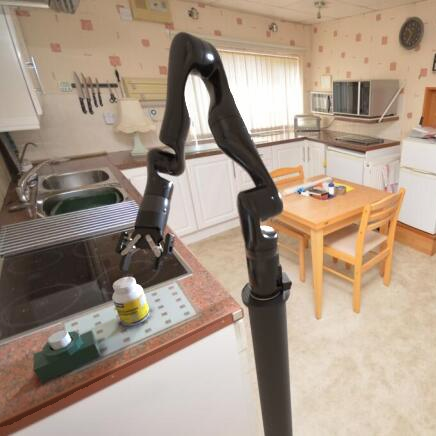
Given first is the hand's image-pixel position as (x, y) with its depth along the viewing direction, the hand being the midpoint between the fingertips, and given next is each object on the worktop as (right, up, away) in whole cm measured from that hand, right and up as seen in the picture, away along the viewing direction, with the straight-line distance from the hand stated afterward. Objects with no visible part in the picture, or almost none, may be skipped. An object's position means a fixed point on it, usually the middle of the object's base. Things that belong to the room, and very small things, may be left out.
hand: (139, 271), depth 77 cm
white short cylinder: (-7, -13, -15) cm, 21 cm away
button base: (-7, -18, -12) cm, 23 cm away
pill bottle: (-1, -12, 0) cm, 12 cm away
